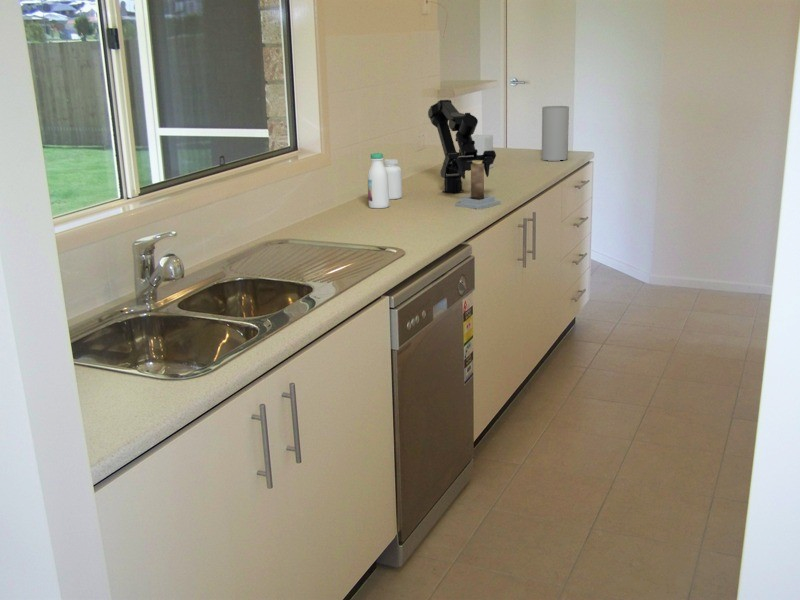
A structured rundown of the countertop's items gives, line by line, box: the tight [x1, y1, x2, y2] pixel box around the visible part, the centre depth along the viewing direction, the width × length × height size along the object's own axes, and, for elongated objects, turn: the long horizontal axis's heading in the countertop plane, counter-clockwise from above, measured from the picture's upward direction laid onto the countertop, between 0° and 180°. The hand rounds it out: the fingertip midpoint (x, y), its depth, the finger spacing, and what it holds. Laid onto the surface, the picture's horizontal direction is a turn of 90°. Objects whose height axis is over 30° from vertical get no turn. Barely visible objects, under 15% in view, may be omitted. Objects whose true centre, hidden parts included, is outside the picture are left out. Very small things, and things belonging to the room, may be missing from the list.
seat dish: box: [454, 194, 501, 210], centre depth 324 cm, size 12×12×3 cm
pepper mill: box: [470, 160, 485, 200], centre depth 322 cm, size 5×5×15 cm
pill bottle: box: [383, 158, 403, 200], centre depth 341 cm, size 8×8×15 cm
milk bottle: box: [367, 152, 390, 209], centre depth 324 cm, size 8×8×20 cm
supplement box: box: [471, 134, 494, 171], centre depth 403 cm, size 9×9×15 cm
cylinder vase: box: [541, 105, 570, 162], centre depth 418 cm, size 12×12×25 cm
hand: (476, 177), depth 323 cm, fingers open, 9 cm apart
